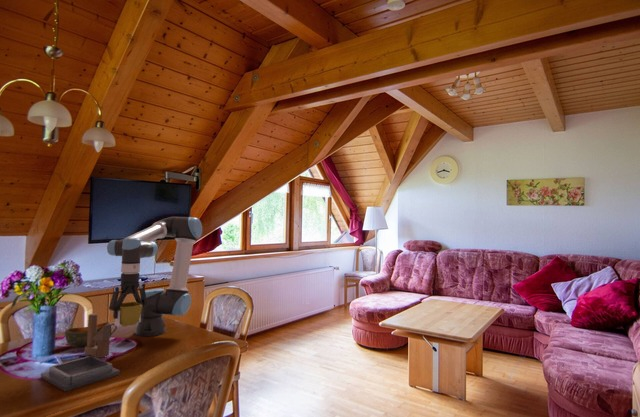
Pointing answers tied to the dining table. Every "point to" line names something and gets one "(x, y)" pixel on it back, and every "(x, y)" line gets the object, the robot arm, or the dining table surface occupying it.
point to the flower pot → (130, 313)
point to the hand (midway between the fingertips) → (127, 323)
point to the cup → (82, 335)
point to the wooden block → (97, 338)
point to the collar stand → (79, 372)
